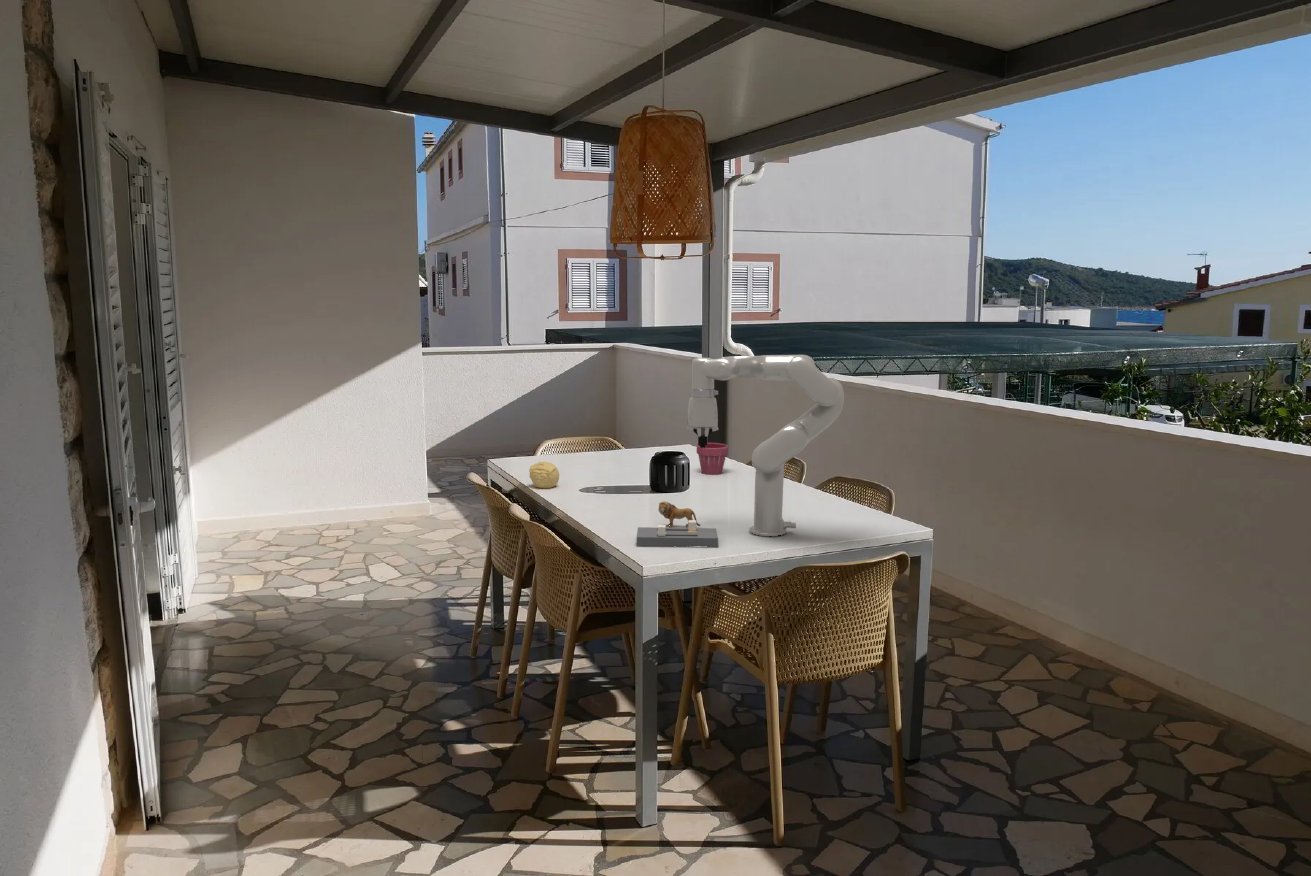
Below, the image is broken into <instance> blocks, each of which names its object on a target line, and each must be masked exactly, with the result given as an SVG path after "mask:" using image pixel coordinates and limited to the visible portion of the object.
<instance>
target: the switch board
mask: <svg viewBox="0 0 1311 876" xmlns="http://www.w3.org/2000/svg"><path fill="white" fill-rule="evenodd" d="M674 546H676V547H674ZM686 546H688V547H686ZM689 546H707V547H706V548H718V547H719V537H718V532H717V528H715V527H713V528H712V527H709V528H708V527H696V531H688V527H672V528H670V527H666V529H665V536H658V527H650V526H649V527H641V526H638V527H637V532H636V547H646V548H647V547H650V548H652V547H656V548H657V547H661V548H663V547H666V548H667V547H668V548H669V547H670V548H690V547H689Z"/></svg>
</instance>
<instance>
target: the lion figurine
mask: <svg viewBox="0 0 1311 876" xmlns="http://www.w3.org/2000/svg"><path fill="white" fill-rule="evenodd" d="M658 512H659V513H660V515H661V516H662V517H664V519H668V520H669V523H668V525H670V526H668V525H667V526H668V528H674V520H675V519H676V520H682V519H684V518H685V519H686V520H687V521H688V522H687V523H686V524H685V526H686V527H688V524H689V520H696V526H698V527H701V526H702V525H701V524H700V523H698V520H697V517H696V516H697V515H696V514H695V511H694V510H693V509H691V508H678V507H676V506H675V504H672V503H670V502H669V501H665V500H663V501H661V502H659V503H658ZM693 518H694V519H693Z"/></svg>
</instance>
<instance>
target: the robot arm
mask: <svg viewBox="0 0 1311 876" xmlns="http://www.w3.org/2000/svg"><path fill="white" fill-rule="evenodd" d="M743 378H744V379H748V378H749V379H759V380H761V381H766V382H777V381H778V382H781V381H783V382H786V381H789V382H790V381H792V383H794V384H795V385H796V386H797V387H798V388H799V389H800V390H802V391H803V392H804V394H806V395H807V396H808V397H809V398H810V399H812V400H813V401H814V402H815V404H814V405H813V406H811V407H810V408H809V409H807V410H806V411H805V412H804V413H803V414H801V415H800V416H799V417H797V418H796V419H794V420H793V421H791V422H789V423H787V424H786V425H784V426H783V427H782V428H781V429H780V430H778V431H777V432H776V433H774V434H772V436H771V437H769V438H767V439H766V440H764V441H762V442H761V443H760V444H758V445H757V447H755V448H754V450H753V451H752V454H751V460H750V461H751V464H752V466H753V468H754V469H755V476H754V477H755V478H754V501H753V502H754V505H753V507H754V508H753V525H752V526H750V527H749V529H748V532H749V533H750V534H752V533H753V534H752V535H754V534H756V535H755V536H758V535H759V536H758V537H769V536H772V537H779V536H778V535H781V536H784V535H786V534H787V529H796V528H797V522H792V521H785V520H784V519H783V505H784V504H783V502H784V501H783V500H784V481H785V479H784V477H785V465H786V463H787V462H788V461H790V460H791V459H793V458H795V457H796V456H797V455H798V454H799V453H801V452H802V451H803V450H804V449H805V448H806V447H807V445H808V444H809V443H810V442H811V441H812V440H814V439H815V438H816V437H817V436H819V435H820V434H822V432H825V430H826V429H827V428H829V427H830V426H831V425H832V424H833V423H834V422H836V420H837V419H838V417H839V416H840V415H841V412H842V410H843V408H844V403H845V393H844V388H843V385H842V383H841V382H840V381H839V380H837V379H836V378H833V377H827V376H826V375H825V373H823V372H822V371H821V370H820V369H819V368H818V367H816V363H815V361H814V359H813V358H812V357H811V356H809V355H807V354H769V355H768V354H766V355H765V354H764V355H763V354H762V355H745V356H744V355H739V356H738V355H735V356H734V355H733V356H732V355H730V356H724V357H719V358H711V357H696V358H693V359H692V361H691V397H689V399H688V406H687V426H686V430H687V431H690V432H694V434H695V435H696V436H697V445H700V448H705V445H707V443H708V436H709V435H710V434H711V433H712V432H716V431H719V426H718V425H719V423H718V422H719V420H718V417H719V415H718V405H717V403H718V402H717V397H715V396H716V395H717V396H718V395H719V390H715V380H717V381H729V380H730V379H743ZM702 428H703V429H704V432H703V434H702V431H701V430H702ZM785 533H786V534H785ZM783 534H784V535H783Z"/></svg>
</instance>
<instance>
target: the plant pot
mask: <svg viewBox="0 0 1311 876" xmlns="http://www.w3.org/2000/svg"><path fill="white" fill-rule="evenodd" d="M696 454H697V455H698V461H699V465H700V471H701V474H703V475H707V476H708V475H709V476H718V475H722V473H723V470H724V466H725V462H726V457H727V455H728V454H729V445H728V444H724V443H721V442H719V443H718V442H707V445H705V448H700V445H698V444H697V445H696Z"/></svg>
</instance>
